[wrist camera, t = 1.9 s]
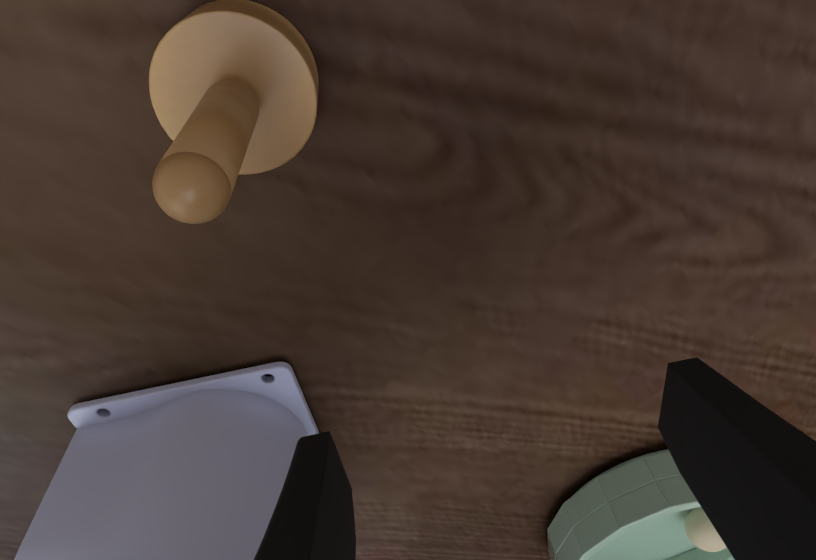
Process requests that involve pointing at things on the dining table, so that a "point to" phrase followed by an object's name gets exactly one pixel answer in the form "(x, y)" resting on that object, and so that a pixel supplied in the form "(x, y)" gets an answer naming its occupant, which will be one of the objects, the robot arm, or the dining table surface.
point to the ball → (702, 531)
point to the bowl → (629, 515)
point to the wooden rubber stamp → (228, 103)
